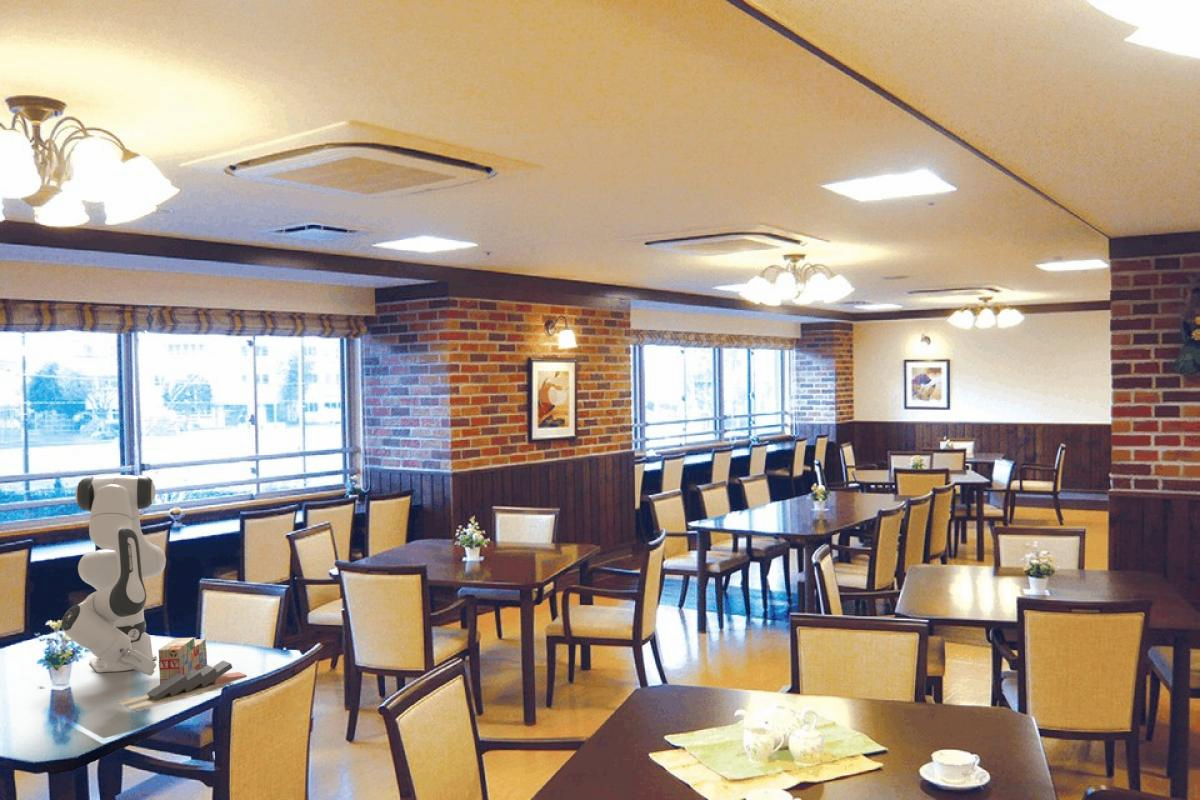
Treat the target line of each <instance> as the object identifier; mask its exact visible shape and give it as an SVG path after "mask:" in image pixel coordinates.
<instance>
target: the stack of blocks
mask: <svg viewBox="0 0 1200 800" xmlns="http://www.w3.org/2000/svg"><path fill="white" fill-rule="evenodd" d="M207 653H208V652H207V645H206V638H200V639H196V638H195V637H181V638H180V637H179V638H174V639H172V640H171V641H170V642H168V643H167V644H165V645H164V646H162V647H160V648H159V649H158V669H159V670H158V671H159V685H160V684H161V683H163V682H164V681H166V680H168V679H169V678H171V677H172V676H174V675H175V674H177V673H180V674H182V675H184V674H186V673H187V672H189V671H190V670H192V669H194V670H197V671H199V670H200V669H202V668H204V667H205V666H207V665H208V654H207Z"/></svg>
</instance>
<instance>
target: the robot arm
mask: <svg viewBox="0 0 1200 800" xmlns="http://www.w3.org/2000/svg"><path fill="white" fill-rule="evenodd" d="M156 492H157V491H156V486H155V484H154V481H153V479H152V478H151V477H149V476H147V475H140V474H139V475H126V474H118V475H103V476H98V477H97V476H96V477H94V476H90V477H86V478H85V477H84V478H82V479H81V480H80V481H79V482H78V484H77V486H76V489H75V494H74V495H75V502H76V504H77V507H78V508H79V509H81V510H82V511H86V512H90V515H89V516H90V517H89V525H88V526H89V527H88V532H89V533H88V535H89V538H90V540H91V542H93V544H94V545H95V546H97V547H99V548H100V549H97V550H95V551H90V552H88V553H85V554H83V556H82V557H81V558H80V560H79V562H78V565H77V571H78V575H79V577H80V579H81V580H82V581H83V582H84V583H85V584H88V585H90V586H91V587H93V588H94V589H95V590H96V591H94V592H92V593H90V594H88V595H87V596H86V598H85V599H84V600H83V601H82V602H79V603H78V604H74V605H71V607H70V608H68V609H67V611H66V612H65V613H64V614H63V617H62V619H61V622H60V624H61V625H60V627H61V629H62V632H63V633H65V634H66V636H67V637H68V638H69V639H71V640H72V641H73V642H75V643H76V644H77V645H79V646H80V647H83V648H84V649H87V650H89V651H90V652H91V654H92V655H94V656H95V657H94V658H92V659H90V660H89V664H90V666H91V667H92V668H93V670H95V672H96V673H106V672H109V673H110V672H124V671H130V670H135V671H138V672H139V673H142V674H144V675H147V676H153V674H154V673H155V669H156V667H157V663H156V662H155V660H157V658H158V657H157V654H153V649H152V639H151V636H150V635H149V633H147V631H146V630H147V623H146V619H145V615H144V613H145V611H144V608H145V606H146V605H145V604H146V602H147V591H146V590H147V589H146V588H145V584H144V580H145V579H146V580H147V579H150V578H152V577H156V576H159V575H161V574H162V572H163V571H164V570H165V568H166V563H167V557H166V553H165V552H164V550H163V549H162V547H159V546H158V545H155V544H153V543H152V542H151V541H149V540H148V539H147V538H146V537H145V536H144V534H143V532H142V527H141V520H140V517H141V516H140V510H144V509H148V508H150V507H151V505H153V502H154V500H155V497H156Z"/></svg>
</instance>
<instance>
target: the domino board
mask: <svg viewBox="0 0 1200 800" xmlns="http://www.w3.org/2000/svg"><path fill="white" fill-rule="evenodd" d="M223 686H224V685H222V684H213V683H209V684H208V685H206V686H205V687H201V686H199V685H198V686H196V687H195V688H193V689H192V690H190V691H189V692H184V691H180V692H179V693H177V694H176V695H174V696H173V697H171V696H169V695H165V696H163V697H162V698H160V699H159V700H157V701H155V700H153V699H151V698H149V697H148V695H147V693H144V694H141V695H138V696H137V695H136V696H134V697H130V698H127V699H123V700H119V701H117V703H119V704H121V705H123V706H124V707H126V708H129V709H131V710H133V711H135V712H139V711H143V710H147V709H151V708H154V707H157V706H161V705H164V704H165V705H166V704H168V703H171V702H175V701H178V700H179V701H180V700H183V699H186V698H189V697H190V698H191V697H194V696H196V695H200V694H204V693H208V692H212V691H214V690H218V689H219V690H220V689H221V688H224V687H223Z"/></svg>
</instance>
